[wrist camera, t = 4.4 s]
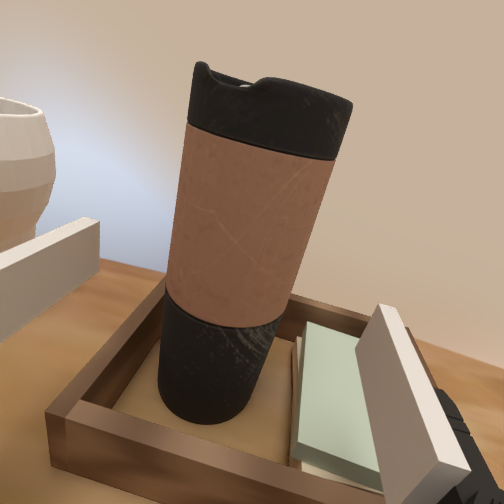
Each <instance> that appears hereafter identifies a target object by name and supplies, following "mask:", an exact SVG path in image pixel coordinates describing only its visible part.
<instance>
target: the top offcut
mask: <svg viewBox="0 0 504 504" xmlns="http://www.w3.org/2000/svg"><path fill="white" fill-rule="evenodd" d="M359 340H360V339H359V338H356V337H353V336H350V335H347V334H344V333H341V332H338V331H335V330H332V329H329V328H326V327H323V326H320V325H317V324H314V323H311V322H308V321H307V323H306V325H305V328H304V330H303V333H302V342H301V352H300V362H299V373H298V383H297V393H296V403H295V414H294V424H293V434H292V444H291V455H290V457H292V458H295V459H298V460H300V461H303V462H305V463H308V464H311V465H313V466H316V467H318V468H321V469H324V470H326V471H329V472H331V473H334V474H337V475H339V476H342V477H344V478H347V479H350V480H352V481H355V482H357V483H360V484H363V485H365V486H368V487H371V488H373V489H376V490H378V491H381V492H384V491H383V486H382V481H381V477H380V472H379V467H378V462H377V457H376V452H375V447H374V442H373V437H372V432H371V427H370V422H369V417H368V412H367V408H366V403H365V398H364V393H363V388H362V383H361V378H360V373H359V368H358V363H357V358H356V353H355V347H356V345H357V343H358V341H359Z"/></svg>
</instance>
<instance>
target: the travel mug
mask: <svg viewBox="0 0 504 504" xmlns="http://www.w3.org/2000/svg"><path fill="white" fill-rule="evenodd" d="M352 109H353V103H352V102H350V101H349V100H347V99H344V98H342V97H340V96H337V95H334V94H332V93H329V92H326V91H323V90H320V89H317V88H313V87H310V86H307V85H304V84H300V83H297V82H293V81H290V80H286V79H280V78H275V77H265V78H262V79H260V80H258V81H257V82H256V83H254V84H253V83H250V82H246V81H243V80H239V79H237V78H233V77H230V76H227V75H224V74H221V73H218V72H215V71H213V70H210V68H209V66H208V64H207V63H205V62H202V61H199V62H196V64H195V67H194V72H193V79H192V86H191V94H190V101H189V109H188V117H187V120H188V122H187V124H186V132H185V139H184V147H183V154H182V162H181V170H180V177H179V184H178V192H177V199H176V207H175V214H174V222H173V229H172V237H171V244H170V252H169V260H168V267H167V274H166V284H165V295H164V307H163V320H162V332H161V344H160V356H159V369H158V387H159V391H160V394H161V397H162V399H163V401H164V402H165V404H166V405H167V407H168V408H169V409H170V410H171V411H172V412H173V413H175V414H176V415H178V416H179V417H181V418H183V419H185V420H187V421H190V422H193V423H198V424H216V423H221V422H224V421H227V420H229V419H231V418H233V417H234V416H235V415H237V414H238V413H239V412H240V411H241V410H242V409H243V408H244V407H245V406H246V404H247V402H248V401H249V399H250V397H251V394H252V392H253V390H254V387H255V385H256V382H257V380H258V377H259V374H260V372H261V369H262V367H263V364H264V362H265V359H266V357H267V354H268V352H269V349H270V346H271V344H272V341H273V339H274V336H275V334H276V331H277V329H278V326H279V324H280V321H281V319H282V316H283V313H284V311H285V308H286V306H287V303H288V300H289V297H290V294H291V291H292V288H293V285H294V282H295V279H296V276H297V273H298V270H299V267H300V264H301V261H302V258H303V255H304V252H305V250H306V247H307V244H308V241H309V238H310V235H311V232H312V229H313V226H314V223H315V220H316V217H317V214H318V211H319V208H320V205H321V202H322V199H323V196H324V193H325V190H326V187H327V184H328V181H329V178H330V175H331V173H332V170H333V167H334V164H335V158H336V157H337V155H338V152H339V148H340V146H341V143H342V140H343V137H344V134H345V131H346V128H347V125H348V122H349V119H350V116H351V113H352Z"/></svg>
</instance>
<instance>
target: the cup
mask: <svg viewBox="0 0 504 504" xmlns="http://www.w3.org/2000/svg"><path fill="white" fill-rule="evenodd" d="M55 176H56V168H55V150H54V145H53V142H52V138H51V136H50V132H49V129H48V126H47V123H46V120H45V116H44V113H43V112H42V111H41V110H40V109H38V108H36V107H34V106H31V105H29V104H25V103H22V102H18V101H15V100H10V99H7V98H2V97H0V253H2V252H4V251H7V250H9V249H11V248H14V247H16V246H18V245H21V244H23V243H25V242H27V241H30V240H32V239H34V238H35V228H36V223H37V221H38V220H39V218H40V216H41V214H42V213H43V211H44V209H45V207H46V206H47V204H48V201H49V198H50V195H51V191H52V188H53V184H54V181H55Z"/></svg>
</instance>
